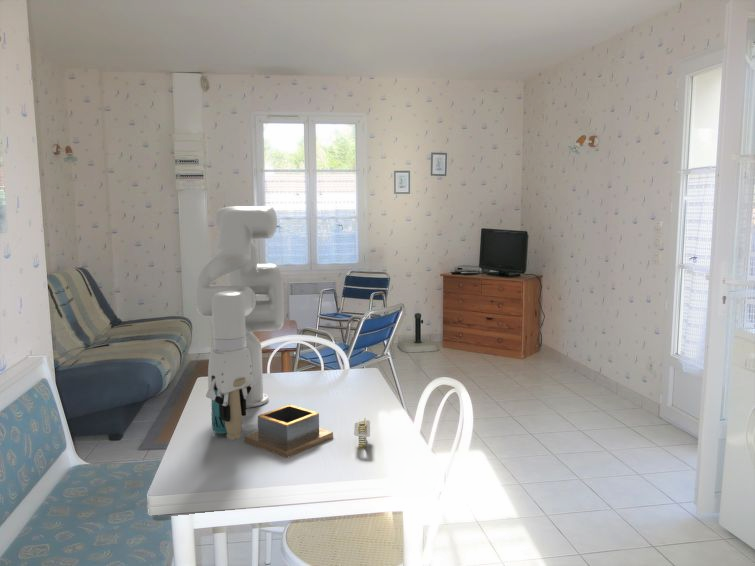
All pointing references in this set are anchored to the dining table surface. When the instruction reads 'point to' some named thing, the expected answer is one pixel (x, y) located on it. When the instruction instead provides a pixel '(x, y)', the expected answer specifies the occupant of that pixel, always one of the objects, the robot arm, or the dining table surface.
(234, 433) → the handle
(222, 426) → the beverage bottle
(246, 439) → the sleeve
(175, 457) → the dining table surface
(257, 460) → the dining table surface
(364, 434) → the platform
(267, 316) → the robot arm
